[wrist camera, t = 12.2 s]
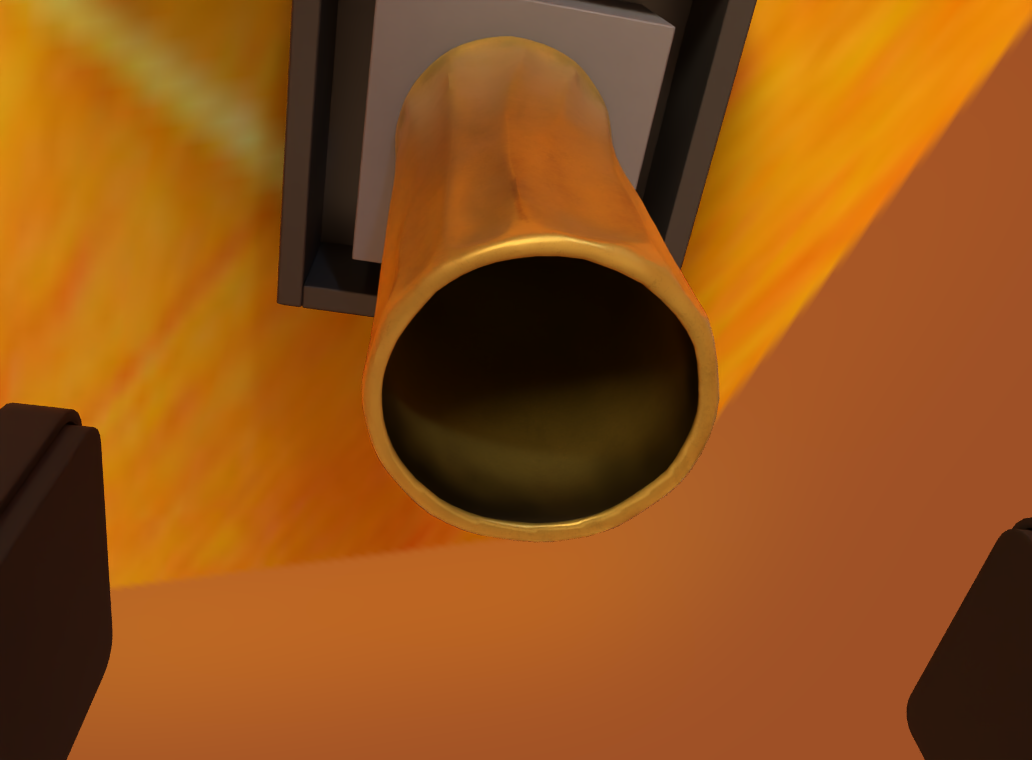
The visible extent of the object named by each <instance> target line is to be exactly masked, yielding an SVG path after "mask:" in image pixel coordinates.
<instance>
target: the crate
mask: <svg viewBox="0 0 1032 760" xmlns="http://www.w3.org/2000/svg"><path fill="white" fill-rule="evenodd" d="M620 1H625V2H631V3H636V4H641V5H643V6H645V7H646V8H648V9H649V10H651V11H652V12H654V13H655V14H657V15H658V16H660V17H661V18H663V19H664V20H665V21H667V22H668V23H670V24H671V25H673V26H674V27H675V33H674V37H673V41H672V45H671V49H670V53H669V57H668V61H667V65H666V69H665V73H664V77H663V81H662V86H661V90H660V94H659V98H658V102H657V106H656V110H655V114H654V118H653V122H652V126H651V130H650V134H649V138H648V143H647V147H646V151H645V155H644V159H643V163H642V167H641V171H640V175H639V179H638V183H637V187H636V192H637V194H638V195H639V197H640V199H641V200H642V202H643V204H644V206H645V208H646V210H647V211H648V213H649V215H650V217H651V219H652V220H653V222H654V224H655V226H656V227H657V229H658V231H659V233H660V235H661V237H662V239H663V241H664V243H665V245H666V247H667V249H668V250H669V252H670V254H671V256H672V257H673V259H674V261H675V262H676V264H677V266H678V267H679V269H680V270H681V267H682V263H683V260H684V256H685V253H686V249H687V246H688V242H689V239H690V235H691V232H692V228H693V224H694V221H695V217H696V214H697V210H698V207H699V203H700V200H701V196H702V193H703V189H704V186H705V182H706V178H707V175H708V171H709V168H710V164H711V161H712V157H713V154H714V150H715V147H716V143H717V140H718V136H719V132H720V129H721V125H722V122H723V118H724V115H725V111H726V108H727V104H728V101H729V97H730V94H731V90H732V86H733V83H734V79H735V76H736V72H737V69H738V65H739V62H740V58H741V55H742V51H743V48H744V44H745V40H746V37H747V33H748V30H749V26H750V23H751V19H752V16H753V12H754V9H755V5H756V2H757V0H620ZM375 3H376V0H292V11H291V31H290V50H289V70H288V90H287V109H286V129H285V148H284V168H283V187H282V207H281V227H280V246H279V266H278V285H277V303H278V304H282V305H289V306H296V307H301V306H303V307H304V308H310V309H318V310H325V311H333V312H340V313H347V314H355V315H362V316H369V317H374V315H375V309H376V303H377V295H378V287H379V279H380V271H381V264H382V263H376V262H369V261H362V260H355V259H352V251H353V240H354V230H355V219H356V208H357V197H358V186H359V176H360V165H361V154H362V143H363V132H364V122H365V111H366V100H367V89H368V79H369V68H370V57H371V46H372V35H373V25H374V14H375Z"/></svg>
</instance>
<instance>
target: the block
mask: <svg viewBox="0 0 1032 760" xmlns="http://www.w3.org/2000/svg"><path fill="white" fill-rule="evenodd" d="M674 33H675V27H674V26H673V25H671V24H670V23H668V22H667V21H665V20H664V19H663V18H661V17H660V16H658V15H657V14H655V13H654V12H652V11H651V10H649V9H648V8H646V7H645V6H643V5H641V4H636V3H631V2H625V1H620V0H376V3H375V14H374V25H373V35H372V46H371V57H370V68H369V79H368V89H367V100H366V111H365V122H364V132H363V143H362V154H361V165H360V176H359V186H358V197H357V208H356V219H355V230H354V240H353V251H352V259H355V260H362V261H369V262H376V263H382V257H383V250H384V243H385V236H386V228H387V221H388V214H389V208H390V201H391V196H392V190H393V185H394V177H395V163H396V158H395V134H396V127H397V123H398V119H399V115H400V112H401V109H402V106H403V103H404V101H405V98H406V96H407V95H408V93H409V91H410V89H411V88H412V86H413V85H414V83H415V82H416V80H417V79H418V78H419V77H420V76H421V74H422V73H423V72H424V71H425V70H426V69H427V68H428V67H429V66H430V65H431V64H432V63H433V62H434V61H436V60H437V59H438V58H439V57H440V56H442V55H443V54H445V53H446V52H448V51H449V50H451V49H453V48H455V47H458V46H460V45H462V44H465V43H468V42H471V41H474V40H479V39H484V38H490V37H498V36H513V37H519V38H525V39H528V40H532V41H535V42H538V43H542V44H545V45H547V46H549V47H552V48H554V49H556V50H558V51H560V52H561V53H563V54H565V55H566V56H568V57H569V58H571V59H572V60H574V61H575V62H576V63H577V64H578V65H579V66H580V67H581V68H582V69H583V70H584V71H585V73H586V74H587V75H588V76H589V78H590V79H591V81H592V82H593V83H594V85H595V87H596V88H597V90H598V91H599V93H600V95H601V97H602V99H603V101H604V103H605V105H606V108H607V111H608V115H609V120H610V126H611V134H612V144H613V148H614V151H615V154H616V157H617V160H618V162H619V164H620V166H621V168H622V170H623V171H624V173H625V175H626V176H627V178H628V180H629V181H630V183H631V184H632V186H633V187H634V189H635V190H636V187H637V183H638V179H639V175H640V171H641V167H642V163H643V159H644V155H645V151H646V147H647V143H648V138H649V134H650V130H651V126H652V122H653V118H654V114H655V110H656V106H657V102H658V98H659V94H660V90H661V86H662V81H663V77H664V73H665V69H666V65H667V61H668V57H669V53H670V49H671V45H672V41H673V37H674Z"/></svg>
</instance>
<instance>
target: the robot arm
mask: <svg viewBox="0 0 1032 760" xmlns="http://www.w3.org/2000/svg"><path fill="white" fill-rule="evenodd" d="M111 646H112V617H111V601H110V583H109V567H108V550H107V533H106V517H105V500H104V484H103V467H102V451H101V439H100V434H99V431H98V429H96V428H95V427H86V426H82V423H81V419H80V416H79V414H78V412H76V411H75V410H73V409H64V408H55V407H46V406H37V405H28V404H19V403H9V404H6V405H5V406H4V407H2V408H1V409H0V760H67V757H68V755H69V753H70V751H71V748H72V746H73V744H74V741H75V739H76V737H77V735H78V732H79V730H80V728H81V726H82V723H83V721H84V719H85V716H86V714H87V712H88V710H89V707H90V705H91V703H92V700H93V698H94V696H95V693H96V691H97V689H98V687H99V685H100V682H101V680H102V678H103V675H104V673H105V670H106V667H107V664H108V660H109V657H110V652H111ZM907 721H908V726H909V729H910V731H911V734H912V736H913V738H914V740H915V741H916V743H917V745H918V747H919V749H920V751H921V753H922V755H923V757H924V759H925V760H1032V518H1025V519H1023V520H1021V521H1019V522H1018V523H1016V524H1015V526H1014V527H1013V528H1012V529H1010V530H1007V531H1005V532H1004V533H1002V535H1001V536H1000V537H999V538H998V540H997V542H996V543H995V545H994V547H993V549H992V551H991V552H990V554H989V556H988V558H987V560H986V561H985V563H984V565H983V567H982V568H981V570H980V572H979V574H978V576H977V578H976V579H975V581H974V583H973V584H972V586H971V588H970V590H969V592H968V593H967V595H966V597H965V599H964V601H963V602H962V604H961V606H960V608H959V610H958V611H957V613H956V615H955V617H954V618H953V620H952V622H951V624H950V626H949V628H948V629H947V631H946V633H945V635H944V636H943V638H942V640H941V642H940V643H939V645H938V647H937V649H936V651H935V652H934V654H933V656H932V658H931V660H930V661H929V663H928V665H927V667H926V668H925V670H924V672H923V674H922V676H921V677H920V679H919V681H918V683H917V685H916V686H915V688H914V690H913V692H912V694H911V695H910V698H909V700H908V704H907Z"/></svg>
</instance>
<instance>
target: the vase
mask: <svg viewBox="0 0 1032 760" xmlns="http://www.w3.org/2000/svg"><path fill="white" fill-rule="evenodd" d="M395 158H396V163H395V177H394V185H393V190H392V196H391V201H390V208H389V214H388V221H387V228H386V236H385V243H384V250H383V257H382V264H381V271H380V279H379V287H378V295H377V303H376V309H375V315H374V321H373V326H372V332H371V338H370V343H369V348H368V353H367V358H366V363H365V367H364V371H363V377H362V386H361V390H362V404H363V411H364V416H365V421H366V426H367V429H368V432H369V436H370V439H371V442H372V445H373V447H374V449H375V452H376V454H377V457H378V458H379V460H380V461H381V463H382V465H383V466H384V468H385V469H386V470H387V472H388V473H389V474H390V475H391V477H392V478H393V479H394V480H395V481H396V482H397V483H398V485H399V486H400V487H401V488H402V489H403V490H404V491H405V492H406V493H407V494H408V495H409V496H410V497H411V498H412V499H413V500H414V501H415V502H416V503H417V504H418V505H419V506H420V507H422V508H423V509H424V510H426V511H427V512H428V513H429V514H431V515H433V516H435V517H437V518H438V519H440V520H442V521H444V522H446V523H448V524H451V525H453V526H455V527H457V528H460V529H462V530H465V531H468V532H472V533H475V534H478V535H483V536H489V537H495V538H501V539H509V540H517V541H529V542H554V541H560V540H568V539H575V538H581V537H587V536H591V535H594V534H597V533H601V532H604V531H607V530H609V529H612V528H615V527H617V526H619V525H621V524H623V523H625V522H626V521H628V520H630V519H632V518H633V517H635V516H636V515H638V514H639V513H641V512H643V511H644V510H646V509H647V508H649V507H650V506H651V505H653V504H654V503H656V502H658V501H659V500H660V499H662V498H663V497H665V496H666V495H667V494H668V493H669V492H671V491H672V490H673V489H674V488H675V487H676V486H677V485H679V484H680V483H681V482H682V480H683V479H684V478H685V477H686V475H687V474H688V473H689V472H690V470H691V469H692V468H693V466H694V465H695V463H696V462H697V460H698V458H699V457H700V455H701V454H702V451H703V449H704V447H705V445H706V443H707V441H708V439H709V437H710V434H711V431H712V428H713V425H714V422H715V419H716V415H717V409H718V403H719V380H718V366H717V357H716V350H715V343H714V337H713V334H712V330H711V327H710V323H709V320H708V317H707V315H706V313H705V311H704V310H703V308H702V306H701V304H700V303H699V301H698V300H697V298H696V296H695V295H694V293H693V291H692V289H691V288H690V286H689V284H688V283H687V281H686V279H685V277H684V276H683V274H682V272H681V271H680V269H679V267H678V266H677V264H676V262H675V261H674V259H673V257H672V256H671V254H670V252H669V250H668V249H667V247H666V245H665V243H664V241H663V239H662V237H661V235H660V233H659V231H658V229H657V227H656V226H655V224H654V222H653V220H652V219H651V217H650V215H649V213H648V211H647V210H646V208H645V206H644V204H643V202H642V200H641V199H640V197H639V195H638V194H637V192H636V190H635V189H634V187H633V186H632V184H631V183H630V181H629V180H628V178H627V176H626V175H625V173H624V171H623V170H622V168H621V166H620V164H619V162H618V160H617V157H616V154H615V151H614V148H613V144H612V134H611V126H610V120H609V115H608V111H607V108H606V105H605V103H604V101H603V99H602V97H601V95H600V93H599V91H598V90H597V88H596V87H595V85H594V83H593V82H592V81H591V79H590V78H589V76H588V75H587V74H586V73H585V71H584V70H583V69H582V68H581V67H580V66H579V65H578V64H577V63H576V62H575V61H574V60H572V59H571V58H569V57H568V56H566V55H565V54H563V53H561V52H560V51H558V50H556V49H554V48H552V47H549V46H547V45H545V44H542V43H538V42H535V41H532V40H528V39H525V38H519V37H513V36H498V37H490V38H484V39H479V40H474V41H471V42H468V43H465V44H462V45H460V46H458V47H455V48H453V49H451V50H449V51H448V52H446V53H445V54H443V55H442V56H440V57H439V58H438V59H437V60H436V61H434V62H433V63H432V64H431V65H430V66H429V67H428V68H427V69H426V70H425V71H424V72H423V73H422V74H421V76H420V77H419V78H418V79H417V80H416V82H415V83H414V85H413V86H412V88H411V89H410V91H409V93H408V95H407V96H406V98H405V101H404V103H403V106H402V109H401V112H400V115H399V119H398V123H397V127H396V134H395Z"/></svg>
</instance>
